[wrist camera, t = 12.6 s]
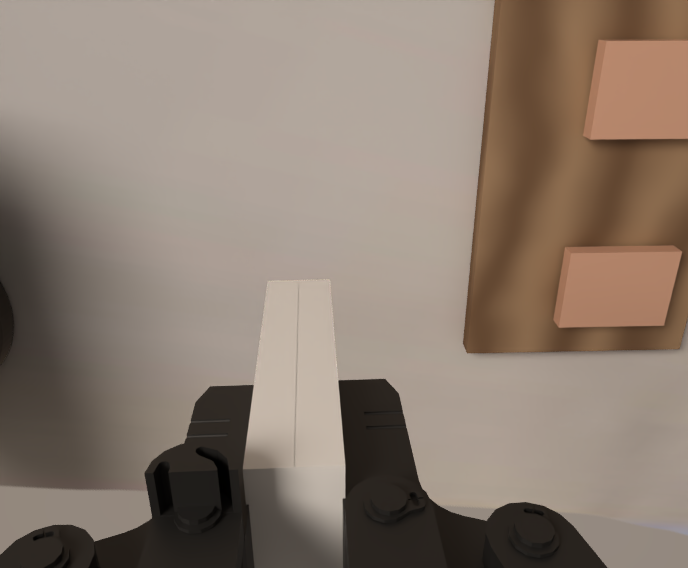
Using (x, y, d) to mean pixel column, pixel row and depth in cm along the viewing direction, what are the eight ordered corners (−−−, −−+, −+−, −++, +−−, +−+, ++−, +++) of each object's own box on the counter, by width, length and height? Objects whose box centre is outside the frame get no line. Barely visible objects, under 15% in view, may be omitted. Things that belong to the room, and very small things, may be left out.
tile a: (558, 327, 47) (663, 325, 47) (571, 253, 44) (682, 251, 44) (551, 318, 48) (654, 316, 48) (563, 245, 45) (671, 243, 46)
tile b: (590, 139, 41) (710, 138, 41) (606, 40, 38) (734, 40, 38) (581, 134, 42) (697, 133, 42) (596, 39, 39) (720, 38, 40)
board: (463, 343, 50) (467, 353, 49) (496, -13, 39) (502, -14, 38) (669, 339, 51) (679, 349, 49) (759, -14, 40) (775, -14, 38)
